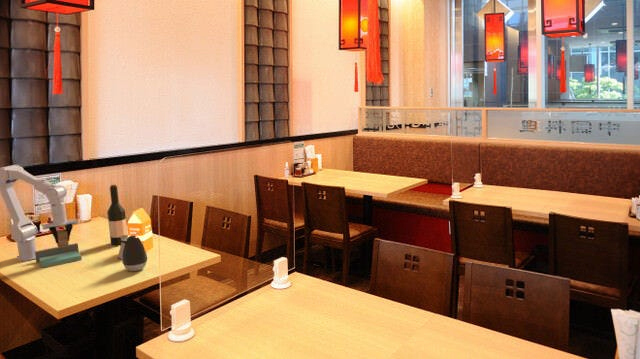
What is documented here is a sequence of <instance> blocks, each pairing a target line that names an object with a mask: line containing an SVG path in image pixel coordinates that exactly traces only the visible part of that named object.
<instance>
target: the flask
mask: <svg viewBox="0 0 640 359" xmlns="http://www.w3.org/2000/svg"><path fill="white" fill-rule="evenodd" d="M127 235H128V234H127ZM127 235H123V236H121V237H120V238H121V240H126V239H127V237H128V236H127ZM124 244H125V243H121V245H120V247H119V251H118V255H117V259H121V260H122V254H123V248H124Z"/></svg>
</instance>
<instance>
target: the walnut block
mask: <svg viewBox="0 0 640 359" xmlns="http://www.w3.org/2000/svg"><path fill="white" fill-rule="evenodd" d="M57 238H58V243H56V247H59V248H62V247H67V246H69V245H70V244H69V241H68V235H67V231H66V230H65V229H61V230H57Z"/></svg>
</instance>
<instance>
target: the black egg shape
mask: <svg viewBox="0 0 640 359" xmlns="http://www.w3.org/2000/svg"><path fill="white" fill-rule="evenodd" d="M121 243H125V244H124V248H123V254H122V259H121V260H122V261H121V262H122V265H123V266H124V268H125V269H126V270H127V271H129V272H139V271H141V270H143V269H144V268H145V267H146V265H147V261H148V255H147V254H148V253H147V252H146V250H145V248H144V245H143V243H142V242H141V240H140V239H139V237H137V236H135V235H131V236H129V237H128V238H127V239H126V240H121Z"/></svg>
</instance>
